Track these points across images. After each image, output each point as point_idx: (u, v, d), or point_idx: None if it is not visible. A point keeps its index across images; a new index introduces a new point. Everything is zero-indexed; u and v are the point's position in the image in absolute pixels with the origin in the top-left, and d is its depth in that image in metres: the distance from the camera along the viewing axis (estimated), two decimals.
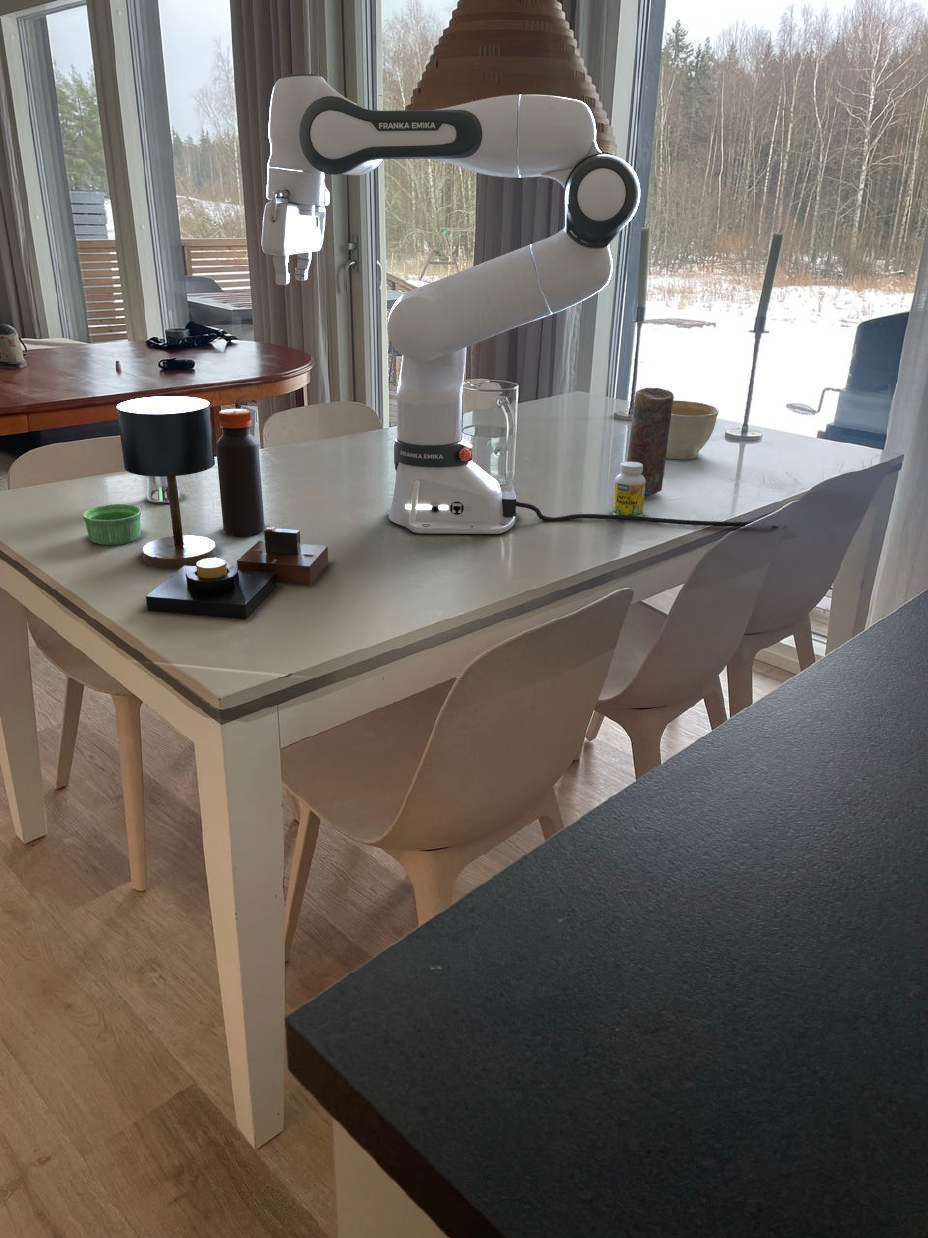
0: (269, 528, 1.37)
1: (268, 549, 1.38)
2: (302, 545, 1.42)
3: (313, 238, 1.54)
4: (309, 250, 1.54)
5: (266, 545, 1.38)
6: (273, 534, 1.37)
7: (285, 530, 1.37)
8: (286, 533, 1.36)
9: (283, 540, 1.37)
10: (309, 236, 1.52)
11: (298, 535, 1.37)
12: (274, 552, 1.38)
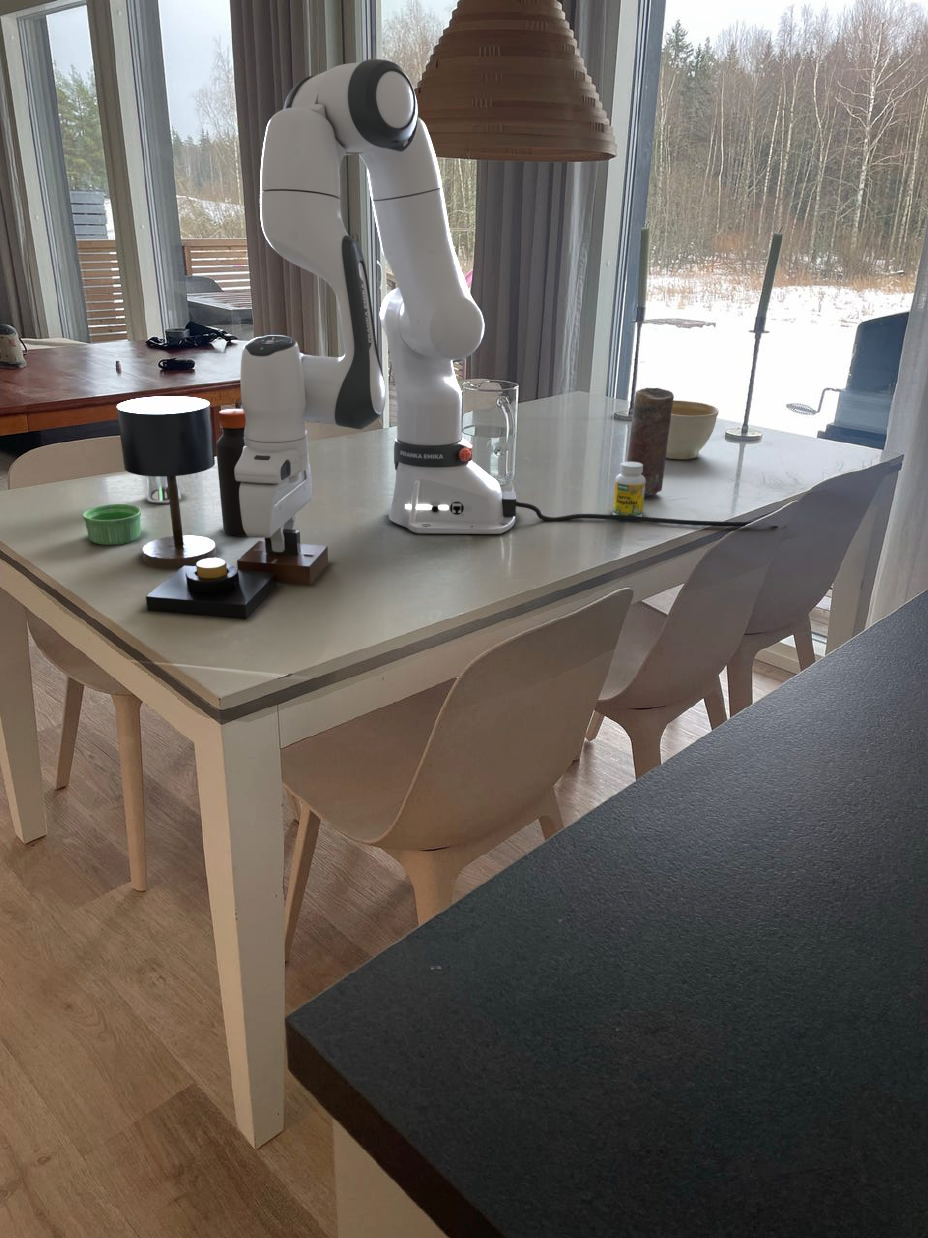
0: None
1: (268, 549, 1.38)
2: (302, 545, 1.42)
3: None
4: None
5: (266, 545, 1.38)
6: None
7: (285, 530, 1.37)
8: (286, 533, 1.36)
9: None
10: None
11: (298, 535, 1.37)
12: (274, 552, 1.38)
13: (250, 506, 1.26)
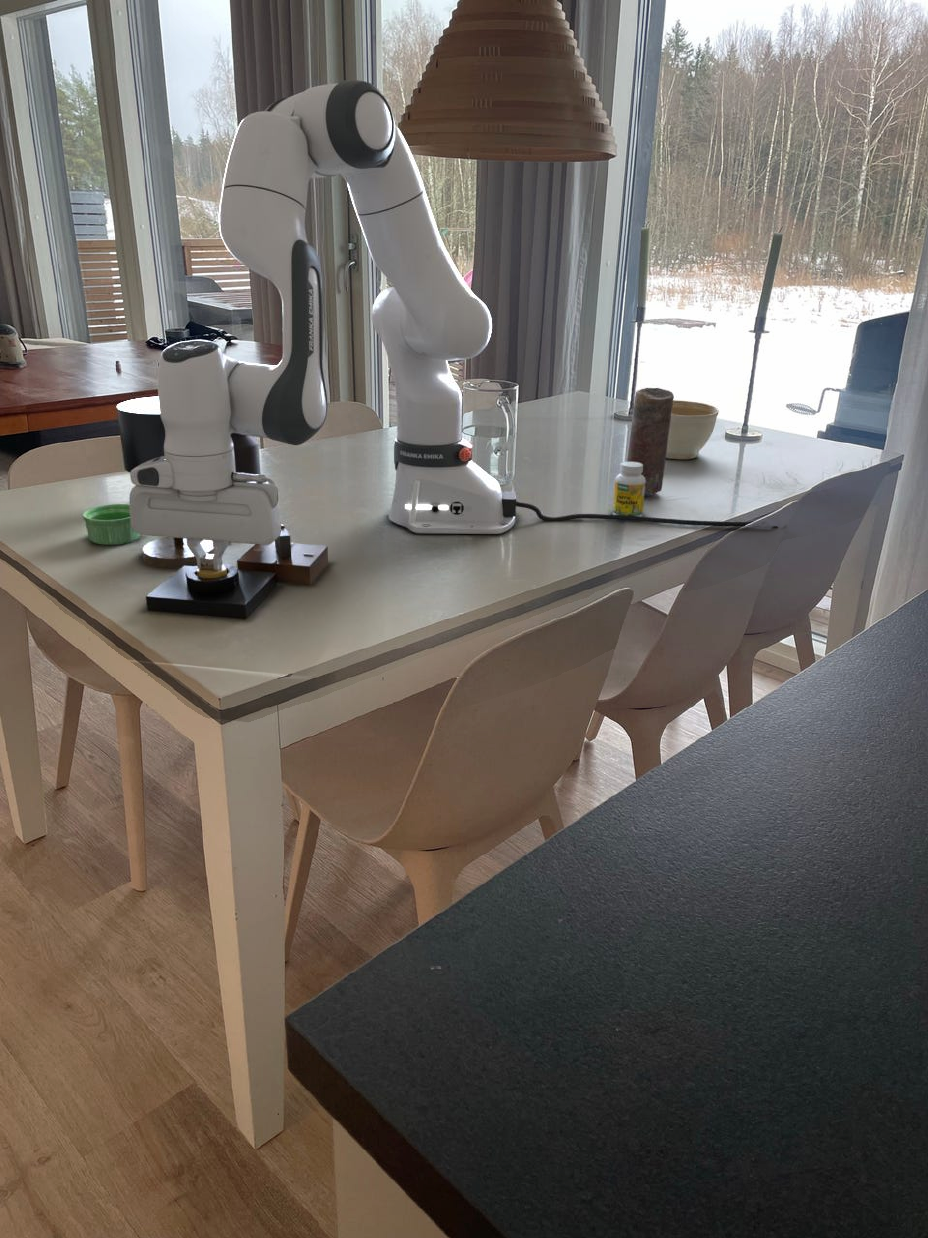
0: None
1: (275, 545, 1.40)
2: (302, 545, 1.42)
3: None
4: None
5: None
6: None
7: (283, 531, 1.37)
8: None
9: (277, 540, 1.37)
10: None
11: (286, 539, 1.35)
12: (276, 549, 1.39)
13: None
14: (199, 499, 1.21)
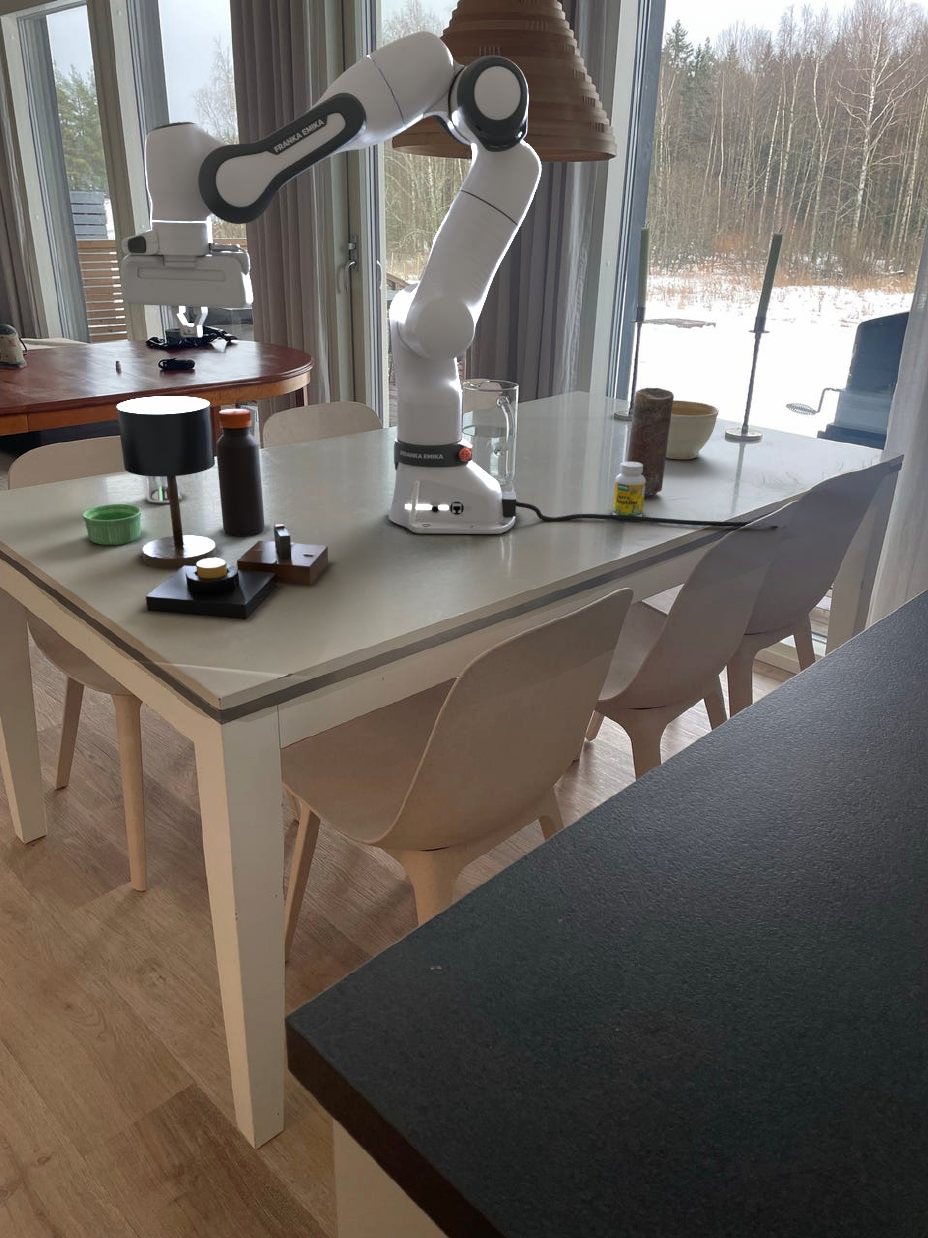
0: (278, 525, 1.39)
1: (275, 545, 1.40)
2: (302, 545, 1.42)
3: None
4: None
5: None
6: (275, 531, 1.38)
7: (283, 531, 1.37)
8: (278, 533, 1.36)
9: (277, 540, 1.37)
10: None
11: (286, 539, 1.35)
12: (276, 549, 1.39)
13: None
14: (181, 264, 1.40)
